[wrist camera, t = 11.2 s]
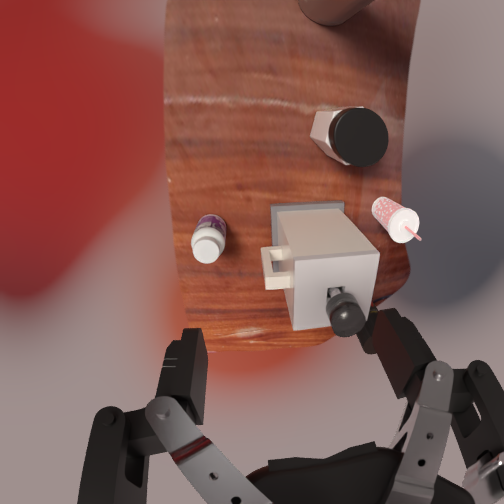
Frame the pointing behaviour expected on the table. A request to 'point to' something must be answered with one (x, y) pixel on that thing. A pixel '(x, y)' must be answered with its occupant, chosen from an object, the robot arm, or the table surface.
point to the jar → (350, 135)
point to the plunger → (344, 313)
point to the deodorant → (368, 330)
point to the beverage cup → (396, 219)
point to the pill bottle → (209, 238)
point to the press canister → (317, 259)
